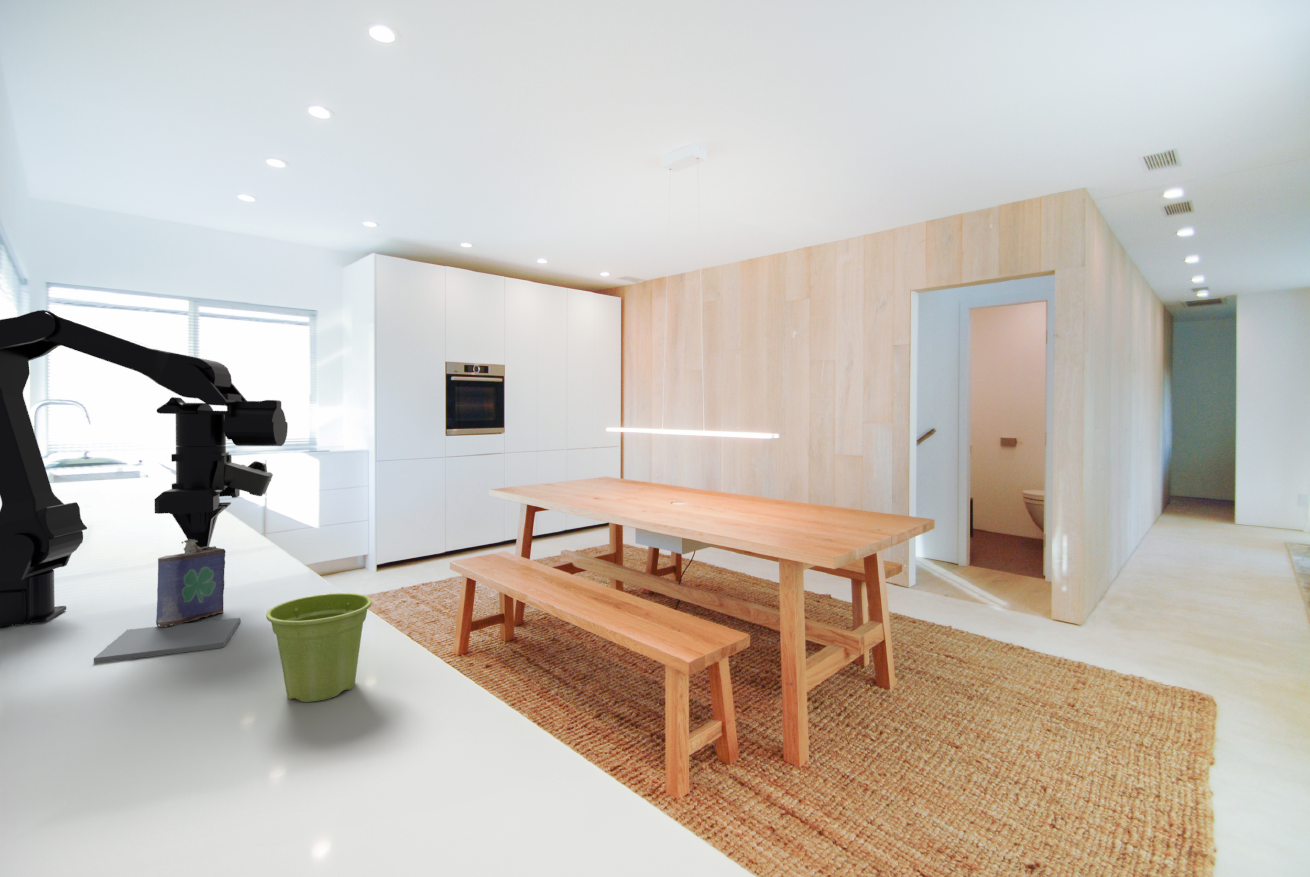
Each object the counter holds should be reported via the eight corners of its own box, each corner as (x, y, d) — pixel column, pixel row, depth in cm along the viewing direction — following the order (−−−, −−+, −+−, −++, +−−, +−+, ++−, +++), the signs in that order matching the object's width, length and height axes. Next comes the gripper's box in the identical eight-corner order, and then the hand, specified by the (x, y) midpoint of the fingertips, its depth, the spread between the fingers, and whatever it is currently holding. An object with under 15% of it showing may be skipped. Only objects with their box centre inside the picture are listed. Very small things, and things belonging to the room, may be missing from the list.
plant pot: (260, 720, 55) (260, 626, 54) (271, 680, 63) (271, 599, 63) (373, 699, 59) (373, 612, 59) (369, 665, 67) (369, 588, 67)
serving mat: (127, 634, 76) (127, 629, 76) (240, 622, 81) (240, 617, 81) (93, 663, 67) (93, 658, 67) (223, 647, 72) (223, 642, 72)
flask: (167, 627, 76) (168, 543, 77) (147, 627, 77) (149, 543, 77) (229, 611, 85) (230, 535, 86) (211, 610, 86) (212, 536, 86)
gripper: (257, 448, 80) (257, 563, 81) (276, 443, 97) (276, 538, 98) (152, 449, 76) (153, 571, 76) (192, 443, 92) (192, 543, 93)
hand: (202, 554), depth 86 cm, fingers closed
